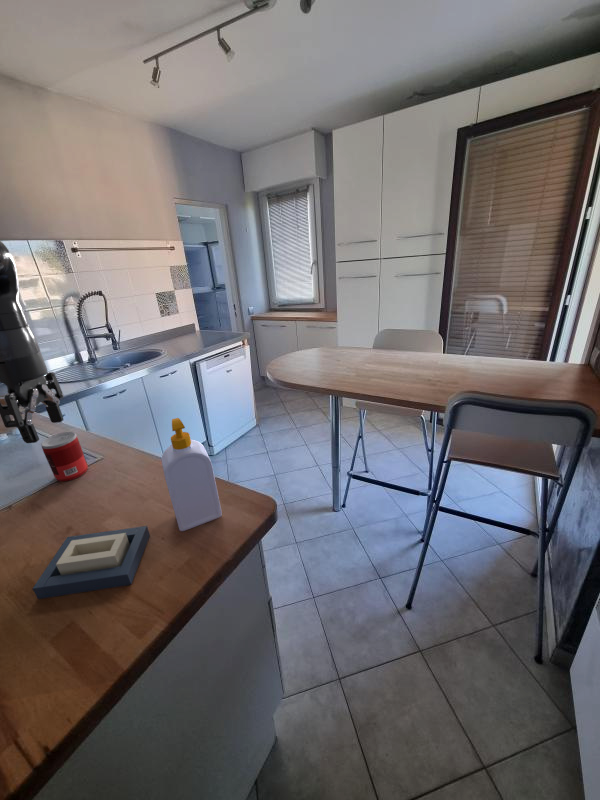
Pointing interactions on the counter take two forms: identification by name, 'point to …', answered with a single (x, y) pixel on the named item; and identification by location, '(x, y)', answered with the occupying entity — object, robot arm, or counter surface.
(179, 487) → the soap bottle
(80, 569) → the frame
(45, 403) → the robot arm
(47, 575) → the tray
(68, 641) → the counter surface
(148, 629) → the counter surface
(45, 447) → the canned food
